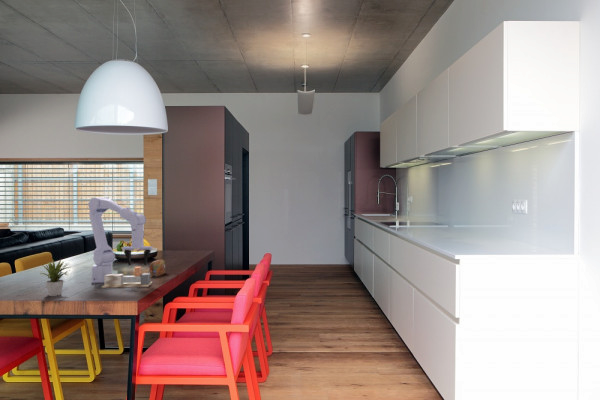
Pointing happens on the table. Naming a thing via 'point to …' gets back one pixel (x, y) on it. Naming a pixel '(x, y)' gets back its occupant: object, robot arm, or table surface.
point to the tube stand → (119, 282)
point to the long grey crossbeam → (133, 277)
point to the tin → (157, 267)
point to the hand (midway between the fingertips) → (137, 264)
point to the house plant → (55, 278)
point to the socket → (145, 278)
